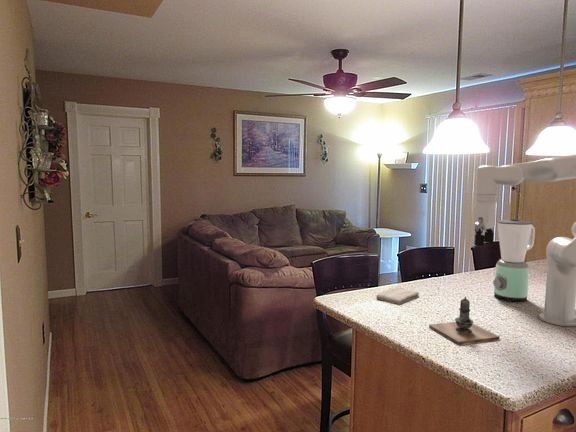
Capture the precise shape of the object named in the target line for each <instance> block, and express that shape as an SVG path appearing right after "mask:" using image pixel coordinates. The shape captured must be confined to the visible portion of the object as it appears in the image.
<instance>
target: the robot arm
mask: <svg viewBox="0 0 576 432" xmlns="http://www.w3.org/2000/svg"><path fill="white" fill-rule="evenodd" d="M571 179H573V180H574V179H576V154H571V155H563V156H562V155H561V156H555V157H548V158H542V159H538V160H533V161H526V162H520V163H513V164H505V165H500V166H496V165H480V166H478V167H477V169H476V182H475V183H476V185H475V186H476V187H475V201H474V202H475V203H476V204H475V206H474V207H475V208H474V212H473V213H474V215H473V223H472V224H473V225H472V226H473V227H472V228H473V229H474V245H475V246H478V247H479V246H480V247H484V246H485V243H489V244H490V243H491V244H493V243H494V235H495V229H494V228H495V226H496V213H497V212H496V204H498V197H499V185H502V186H509V187H514V186H517V185H520V184H521V183H527V182H528V183H529V182H539V183H540V182H544V183H545V182H546V183H547V182H557V181H564V180H571ZM571 234H572V236H573V237H574V238H570V237H566V236H558V237H554V238H552V239H551V240H550V241H549V242H548V244H547V245H546V250H545V251H546V252H545V254H546V263H547V264H546V266H547V267H546V268H547V269H546V282H545V296H544V297H545V298H544V311H543V312H541V313H539V315H538V317H539V319H540V320H541V321H543V322H545V323H548V324H552V325H554V326H555V325H556V326H560V327H575V326H576V221H575V222H574V223H573V224H572V226H571Z"/></svg>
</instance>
